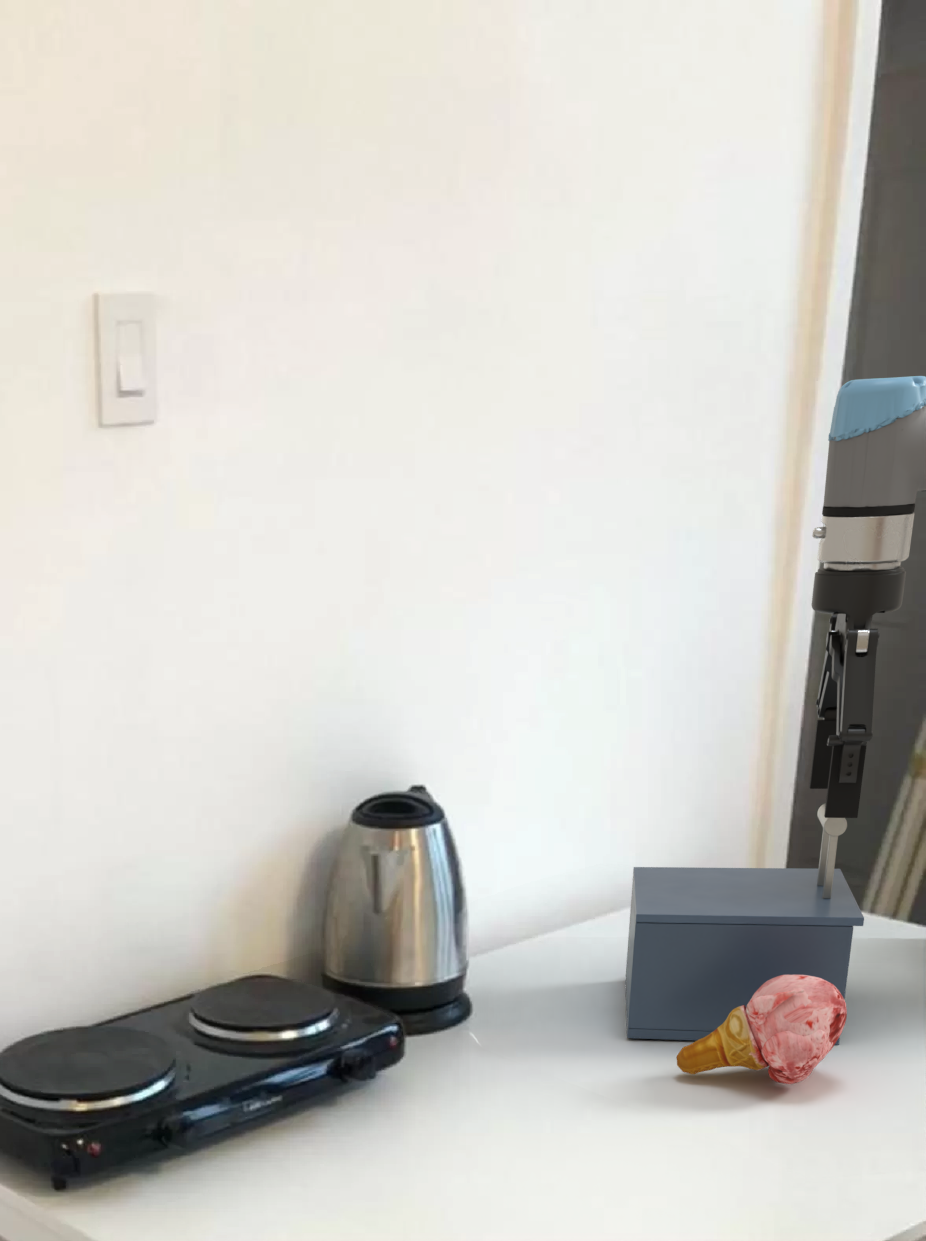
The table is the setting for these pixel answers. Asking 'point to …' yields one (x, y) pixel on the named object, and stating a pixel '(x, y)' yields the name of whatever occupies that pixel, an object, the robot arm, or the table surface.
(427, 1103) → the table surface
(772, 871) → the freezer lid
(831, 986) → the ice cream
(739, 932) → the box
